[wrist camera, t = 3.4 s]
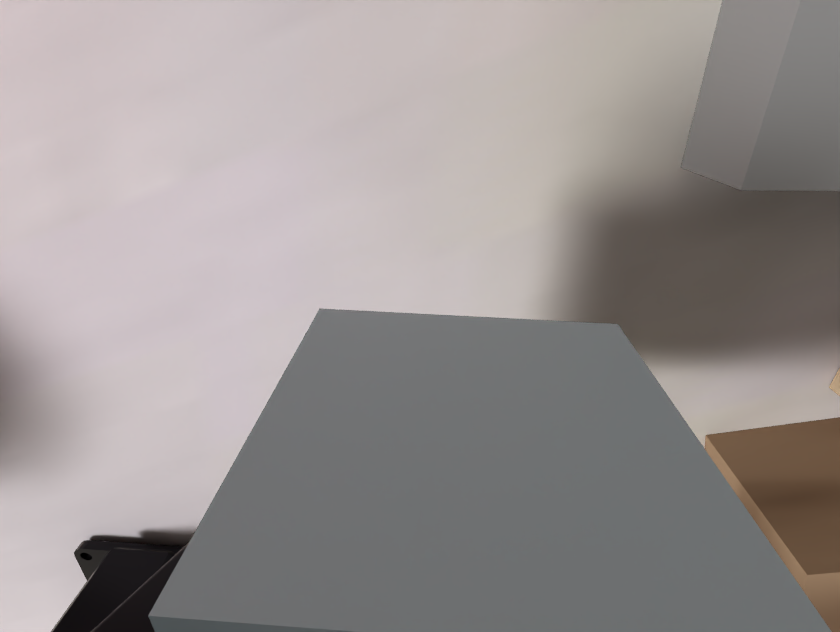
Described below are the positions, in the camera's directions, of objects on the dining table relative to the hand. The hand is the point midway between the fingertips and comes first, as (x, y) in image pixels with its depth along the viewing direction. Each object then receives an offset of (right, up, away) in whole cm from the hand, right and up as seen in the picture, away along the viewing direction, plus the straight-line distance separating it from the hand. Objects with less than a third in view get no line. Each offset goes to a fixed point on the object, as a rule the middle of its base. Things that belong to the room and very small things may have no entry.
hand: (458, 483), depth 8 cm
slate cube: (0, +1, +1) cm, 1 cm away
